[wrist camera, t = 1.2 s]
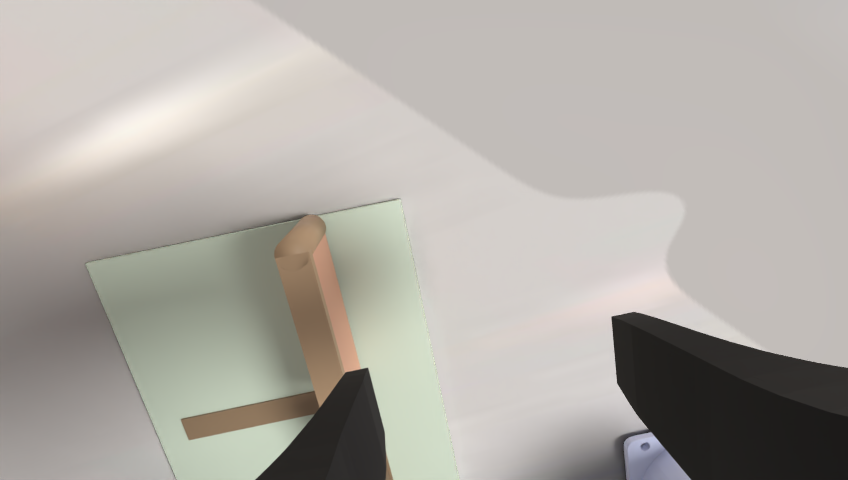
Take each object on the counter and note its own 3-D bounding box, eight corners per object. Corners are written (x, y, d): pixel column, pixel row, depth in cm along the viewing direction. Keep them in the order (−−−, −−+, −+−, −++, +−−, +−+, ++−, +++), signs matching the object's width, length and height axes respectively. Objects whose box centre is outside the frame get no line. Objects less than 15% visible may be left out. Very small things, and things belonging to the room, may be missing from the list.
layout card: (400, 198, 20) (400, 200, 19) (466, 513, 25) (467, 519, 24) (89, 261, 20) (83, 264, 19) (217, 566, 24) (214, 573, 24)
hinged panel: (322, 211, 19) (304, 235, 15) (365, 378, 21) (359, 434, 18) (294, 217, 19) (269, 242, 15) (340, 383, 21) (329, 441, 17)
